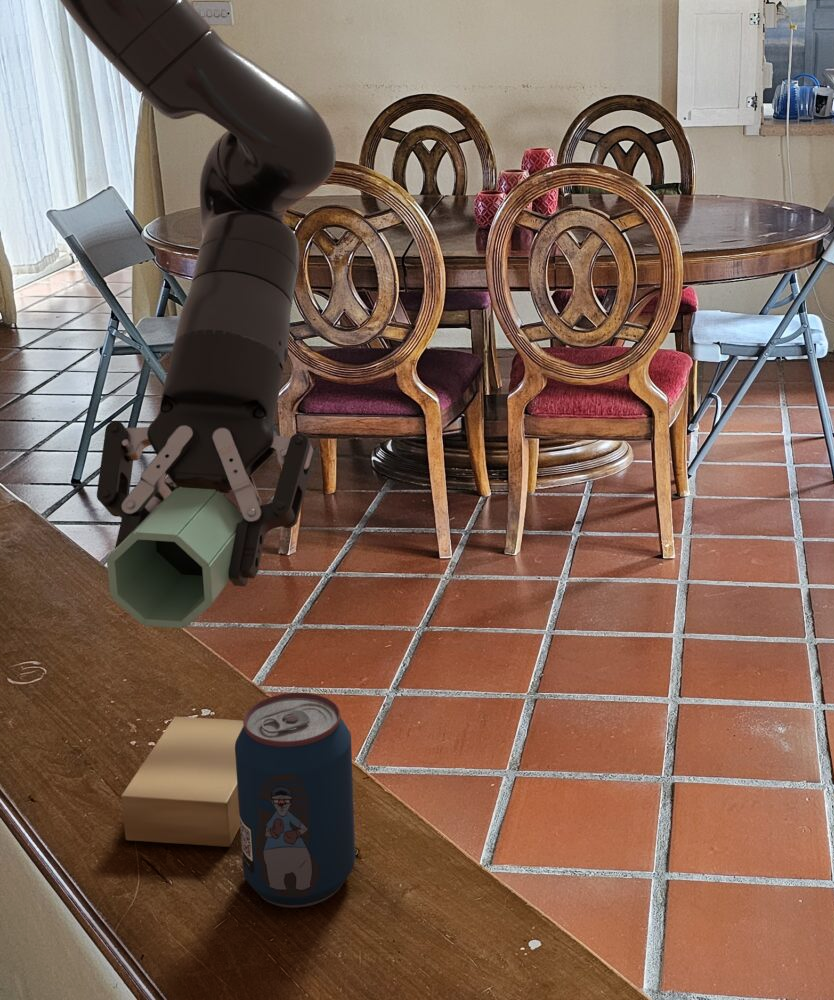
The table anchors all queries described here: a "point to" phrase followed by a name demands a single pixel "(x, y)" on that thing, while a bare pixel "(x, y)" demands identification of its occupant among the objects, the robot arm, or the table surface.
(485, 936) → the table surface
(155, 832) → the step
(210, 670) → the table surface
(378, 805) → the table surface
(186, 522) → the octagonal tube
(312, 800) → the soda can
